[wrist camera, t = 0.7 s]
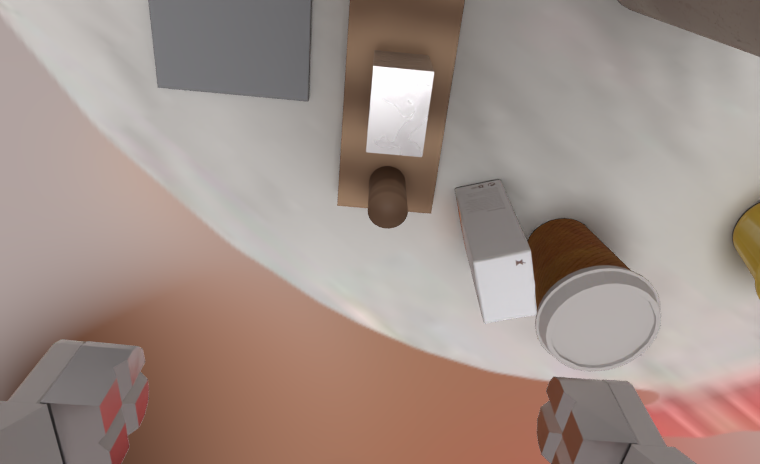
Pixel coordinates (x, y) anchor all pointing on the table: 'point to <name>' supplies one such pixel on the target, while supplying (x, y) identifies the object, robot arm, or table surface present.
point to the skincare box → (496, 252)
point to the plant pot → (749, 242)
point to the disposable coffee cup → (589, 299)
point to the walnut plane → (357, 167)
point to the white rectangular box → (399, 103)
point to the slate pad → (233, 46)
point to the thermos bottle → (709, 19)
